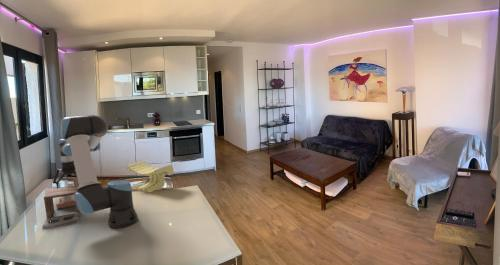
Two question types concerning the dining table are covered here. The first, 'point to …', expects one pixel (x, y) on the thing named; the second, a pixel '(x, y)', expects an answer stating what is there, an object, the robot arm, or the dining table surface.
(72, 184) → the sled
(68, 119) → the robot arm
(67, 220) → the tunnel
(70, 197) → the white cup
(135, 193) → the dining table surface
